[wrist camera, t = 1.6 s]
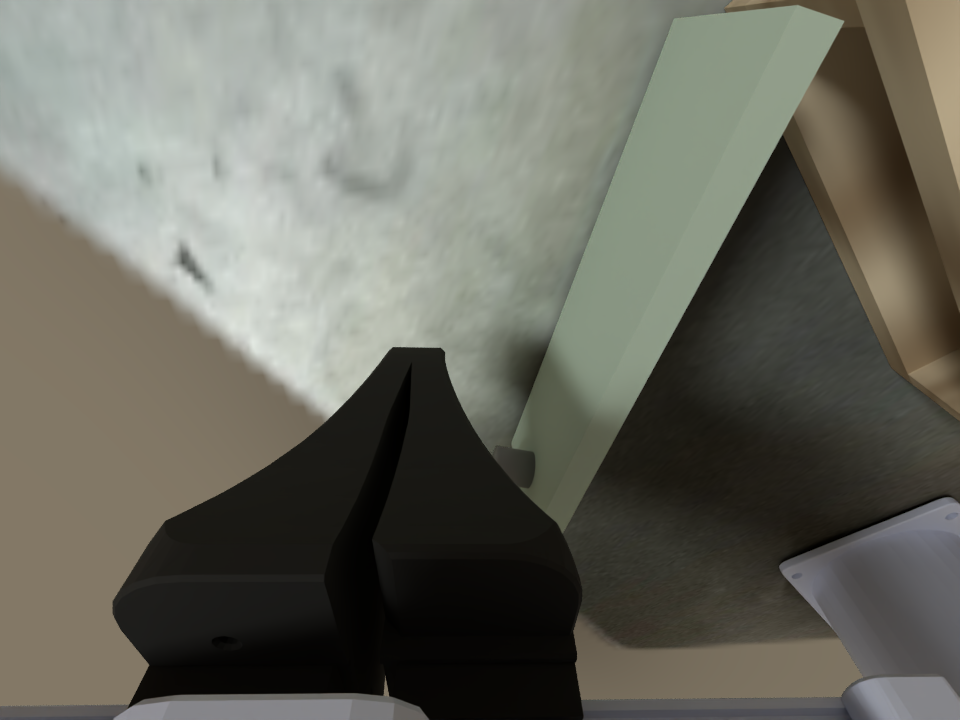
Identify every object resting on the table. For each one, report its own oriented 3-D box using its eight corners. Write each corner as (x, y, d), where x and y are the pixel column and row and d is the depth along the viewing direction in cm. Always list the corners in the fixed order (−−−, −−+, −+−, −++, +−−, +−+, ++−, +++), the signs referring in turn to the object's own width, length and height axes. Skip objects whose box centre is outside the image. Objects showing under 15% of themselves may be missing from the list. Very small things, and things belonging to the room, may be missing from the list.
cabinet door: (530, 446, 19) (547, 560, 15) (482, 438, 18) (484, 552, 14) (705, 28, 11) (845, 21, 7) (626, 3, 11) (723, -21, 7)
